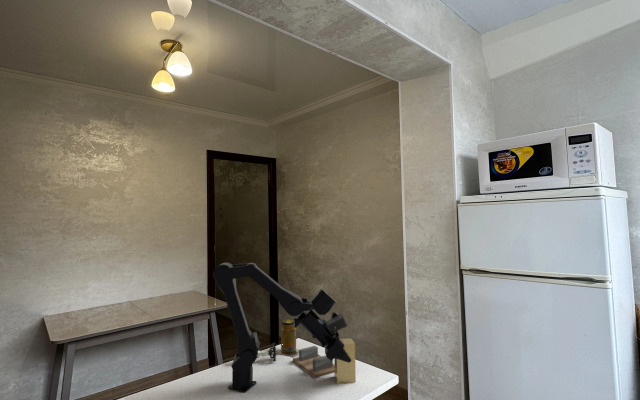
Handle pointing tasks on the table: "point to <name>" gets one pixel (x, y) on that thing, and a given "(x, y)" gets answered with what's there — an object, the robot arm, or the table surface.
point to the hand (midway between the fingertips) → (348, 358)
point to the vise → (314, 362)
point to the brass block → (346, 364)
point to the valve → (269, 352)
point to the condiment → (288, 339)
